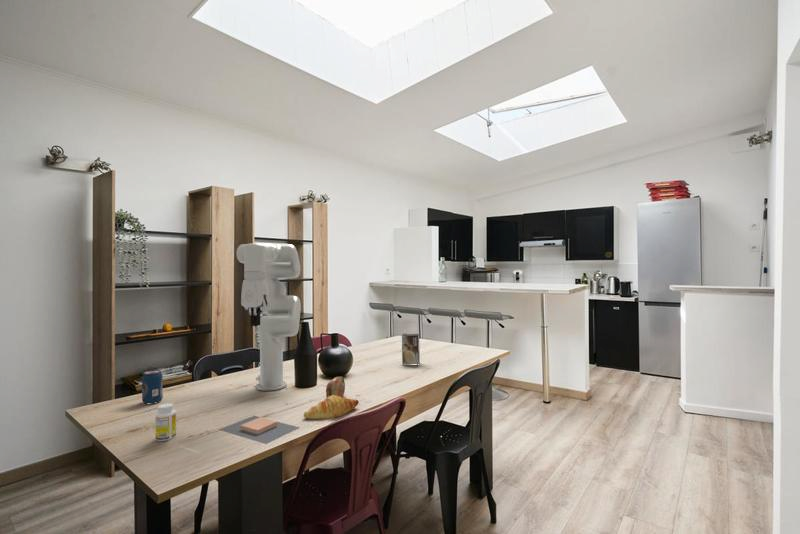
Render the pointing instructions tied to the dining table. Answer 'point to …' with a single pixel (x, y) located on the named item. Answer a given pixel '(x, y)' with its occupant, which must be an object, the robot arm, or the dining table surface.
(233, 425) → the mat
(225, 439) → the dining table surface
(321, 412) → the croissant
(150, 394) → the soda can
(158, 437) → the supplement bottle
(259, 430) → the tile
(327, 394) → the tin
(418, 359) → the coffee box
